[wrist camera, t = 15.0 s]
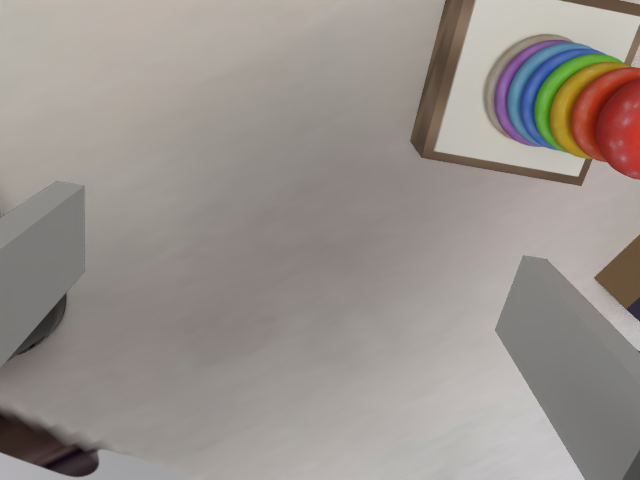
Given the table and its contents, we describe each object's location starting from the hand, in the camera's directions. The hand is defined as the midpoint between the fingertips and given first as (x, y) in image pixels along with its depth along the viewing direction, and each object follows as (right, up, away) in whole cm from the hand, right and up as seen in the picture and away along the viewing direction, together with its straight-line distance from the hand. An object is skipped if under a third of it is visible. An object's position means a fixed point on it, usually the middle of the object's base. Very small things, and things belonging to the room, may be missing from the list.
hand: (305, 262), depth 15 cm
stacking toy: (+17, +13, +24) cm, 32 cm away
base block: (+17, +15, +30) cm, 38 cm away
